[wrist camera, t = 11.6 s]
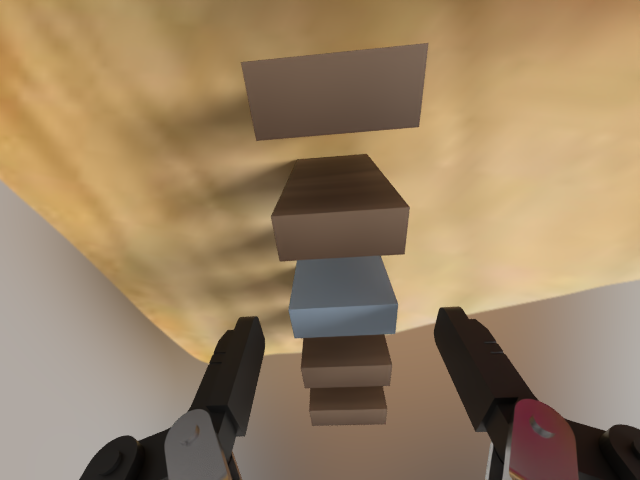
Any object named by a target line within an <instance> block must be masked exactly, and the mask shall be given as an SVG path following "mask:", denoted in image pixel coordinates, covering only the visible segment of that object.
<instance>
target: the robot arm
mask: <svg viewBox="0 0 640 480" xmlns="http://www.w3.org/2000/svg"><path fill="white" fill-rule="evenodd" d="M434 338H435V342H436V345H437V347H438V349H439V352H440V354H441V356H442V358H443V361H444V363H445V365H446V367H447V369H448V372H449V374H450V376H451V378H452V381H453V383H454V385H455V387H456V389H457V392H458V394H459V396H460V398H461V401H462V403H463V405H464V407H465V409H466V412H467V414H468V416H469V418H470V420H471V422H472V425H473V427H474V429H475V431H476V432H487V433H488V434H489V437H490V439H491V441H492V442H491V444H490V450H489V457H488V463H487V470H486V476H485V480H640V430H639V429H637V428H634V427H631V426H628V425H614V426H612V427H611V428H610V429H608V430H607V431H604V430H600V429H597V428H593V427H590V426H587V425H583V424H580V423H576V422H573V421H570V420H567V419H565V418H563V417H562V416H561V415H560V414H559V413H557V412H556V411H555V410H554V409H553V408H551V407H550V406H548V405H546V404H544V403H542V402H540V401H539V400H538V399H537V398H536V397H535V396H534V395H533V393H532V392H531V390H530V389H529V387H528V386H527V385H526V383H525V382H524V381H523V379H522V378H521V376H520V375H519V373H518V372H517V370H516V369H515V368H514V366H513V365H512V363H511V362H510V360H509V359H508V358H507V356H506V355H505V354H504V353H503V350H502V349H501V347H500V346H499V345H498V344H497V343H496V340H495V339H494V337H493V336H492V335H491V333H490V332H489V330H488V329H487V328H486V327H484V326H483V325H482V324H481V323H480V322H478V321H477V320H476V319H468V317H467V315H466V314H465V312H464V311H463V309H462V308H460V307H442V308H440V309H439V312H438V316H437V320H436V324H435V329H434ZM264 350H265V338H264V335H263V332H262V328H261V325H260V322H259V319H258V317H257V316H253V317H240V318H239V319H238V321H237V324H236V326H235V329H234V330H227V332H226V333H225V334H224V335H223V336H222V337H221V339H220V340H219V341H218V344H217V346H216V348H215V351H214V355H212V358H211V360H210V364H209V365H208V367H207V370H206V372H205V374H204V377H203V379H202V382H201V384H200V386H199V389H198V391H197V393H196V396H195V398H194V400H193V403H192V405H191V407H190V409H189V410H188V412H187V413H185V414H184V415H182V416H181V417H180V418H179V419H178V420H177V421H176V422H175V423H174V424H173V426H172V427H170V428H169V429H167V430H165V431H162V432H160V433H157V434H155V435H152V436H149V437H147V438H145V439H142V440H140V441H137V440H136V439H135V438H133V437H132V436H121V437H118V438H116V439H114V440H112V441H111V442H109V443H108V444H106V445H105V446H104V447H103V448H102V449H101V450H99V451H98V453H97V454H96V455H95V456H94V457H93V458H92V460H91V461H90V463H89V464H88V466H87V467H86V469H85V471H84V473H83V474H82V476H81V478H80V479H79V480H242V477H241V474H240V471H239V468H238V466H237V462H236V460H235V456H234V453H233V451H232V449H233V445H234V442H235V438H236V436H245V434H246V430H247V426H248V421H249V417H250V412H251V408H252V404H253V399H254V395H255V390H256V386H257V381H258V377H259V373H260V368H261V364H262V360H263V355H264Z"/></svg>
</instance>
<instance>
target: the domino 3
mask: <svg viewBox="0 0 640 480" xmlns="http://www.w3.org/2000/svg"><path fill="white" fill-rule="evenodd" d="M397 310H398V302H397V300H396V297H395V294H394V291H393V289H392V286H391V283H390V280H389V278H388V275H387V272H386V269H385V267H384V264H383V261H382V258H381V256H365V257H347V258H330V259H312V260H297V264H296V269H295V275H294V281H293V287H292V293H291V298H290V304H289V314H290V319H291V324H292V328H293V333H294V338H313V337H335V336H357V335H379V334H395V330H396V320H397Z"/></svg>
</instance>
